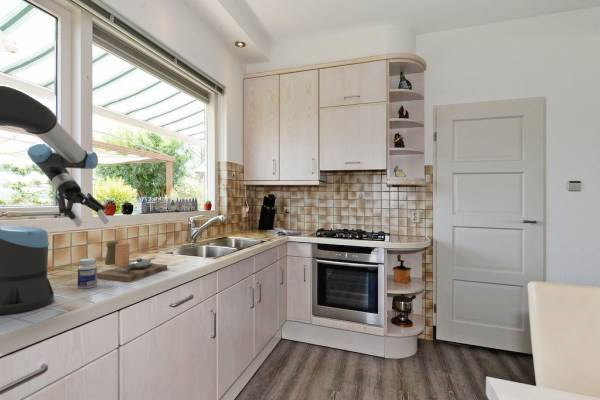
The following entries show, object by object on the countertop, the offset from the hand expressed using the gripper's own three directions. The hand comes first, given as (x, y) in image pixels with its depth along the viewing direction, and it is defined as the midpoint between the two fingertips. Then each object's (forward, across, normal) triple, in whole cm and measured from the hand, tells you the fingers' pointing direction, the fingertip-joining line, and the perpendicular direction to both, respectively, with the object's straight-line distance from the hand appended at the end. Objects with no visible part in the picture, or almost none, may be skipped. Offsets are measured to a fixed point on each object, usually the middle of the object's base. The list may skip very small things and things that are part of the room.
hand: (94, 223), depth 122 cm
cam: (+24, -8, -3) cm, 26 cm away
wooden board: (+26, -6, -4) cm, 27 cm away
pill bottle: (+25, +14, -5) cm, 29 cm away
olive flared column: (+9, -18, -22) cm, 29 cm away
